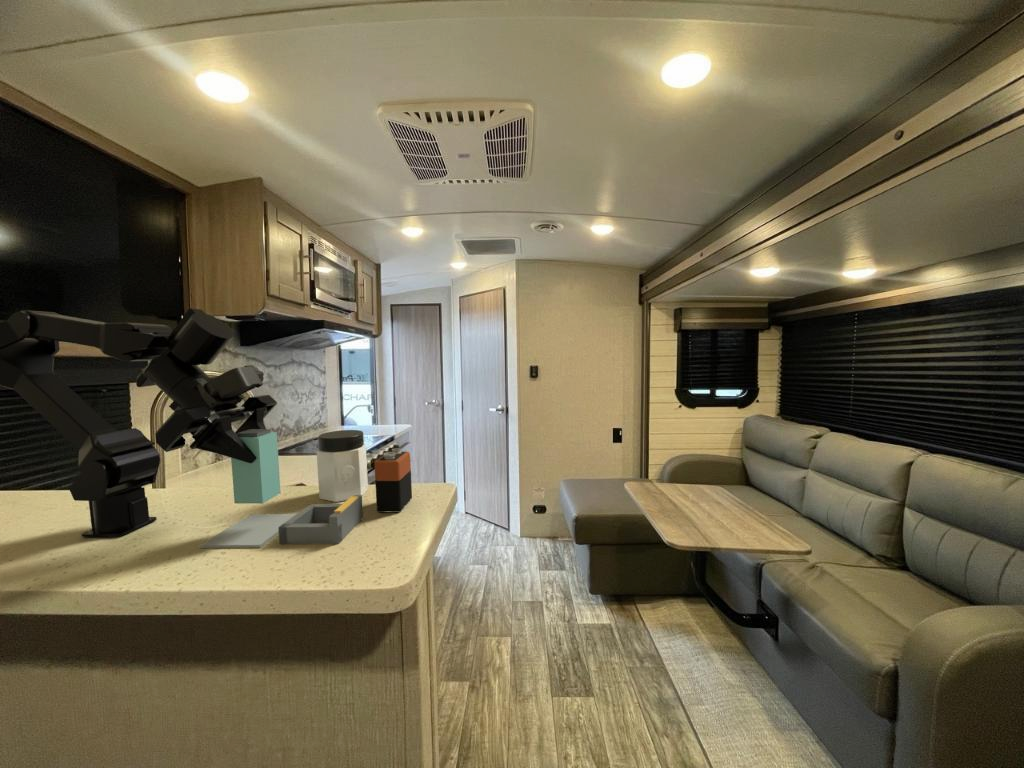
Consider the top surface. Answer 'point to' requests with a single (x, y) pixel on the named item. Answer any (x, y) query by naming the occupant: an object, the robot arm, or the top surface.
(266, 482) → the plug
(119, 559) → the top surface
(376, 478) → the battery
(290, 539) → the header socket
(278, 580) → the top surface
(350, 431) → the jar
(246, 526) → the mat
